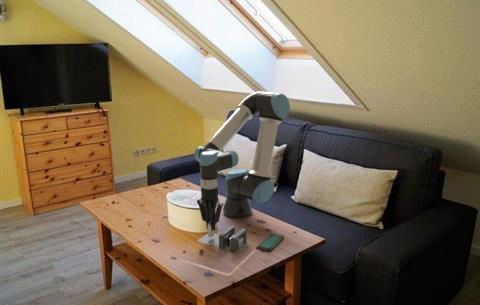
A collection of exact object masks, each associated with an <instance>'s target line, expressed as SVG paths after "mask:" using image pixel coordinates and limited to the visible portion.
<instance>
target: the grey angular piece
mask: <svg viewBox="0 0 480 305" xmlns="http://www.w3.org/2000/svg"><path fill="white" fill-rule="evenodd" d="M229 233H230V234H233V235H234V236H232V237H231V247H229V246H225V236H226V235H228V234H229ZM247 233H248V232H247V229H246V228H241V229H240V230H239V231H237V232H236V226H234V225H230V226H229V227H227V228H226V229H224V230H223V231H222V232H220V233H219V234H217V233H214V236H212V237H208V233H206V234H205V235H203V236H202V237H200V238H199V239H197V241H196V243H197V242H198V243H201V244H205V245H208V246H212V247H215V248H219V249H223V250H226V251H228V252H229V251H230V252H234V253H236V254H237V253H238V254H240V253H242V252H243V251H244V250H245V249H246V248H247V247H248V246H249V245H251V242H248V240H247V239H248V238H247ZM240 237H243V246H242V247H241V248H239V249H237V239H239V238H240Z"/></svg>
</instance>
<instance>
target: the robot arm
mask: <svg viewBox="0 0 480 305" xmlns="http://www.w3.org/2000/svg"><path fill="white" fill-rule="evenodd" d="M236 106H237V107H236V110H235V111H234V112H233V114H231V115H230V117H229V118H228V119H227V120H226V121H225V122H224V124H222V126H221V127H220V128H219V129H218V130H217V132H215V134H213V136H212V137H210V139H209V141H207V143H206V144H205V145H201V146H197V147H196V148H195V150H194V154H193V155H194V159H195V160H196V161H197V162H198V163H199V172H200V174H199V175H200V196H201V197H200V198H198V199H197V200H196V203H197V205H198V208H199V211H200V212H199V213H200V216H201V220H202V221H203V222H205V223H206V224H205V225H206V229H207V234H208V237H212V236H214V234H215V230H216V224H217V223H218V222H220V218H221V213H222V212H223V215H224V216H226V217H229V218H232V219H241V218H246V217H248V216H251V215H252V212H253V209H252V205H251V201H254V203H255V202H256V203H257V202H258V203H261V204H262V203H265V202H267V201H269V199H271V197H272V196H273V194H274V192H275V186H274V185H275V184H274V182H273V181H272V174H270V169H271V165H272V164H271V163H272V160H273V153H274V148H275V143H276V138H277V132H278V127H279V125H280V124H281V123H282V122H283V119H284V118H286V117H288V115H289V113H290V108H291V105H290V101H289V98H288V97H287V95H286V94H284V93H281V92H276V91H275V92H272V91H271V92H270V91H262V90H261V91H260V90H259V91H255V92H252V93H251V94H249V95H247V96H246V97H245V98H244V99H243V100H242V101H241V102H240V103H239V104H238V105H236ZM257 115H258V119H259V120H260V126H259V131H258V136H257V141H256V147H255V151H254V152H255V153H254V157H253V161H252V162H253V163H252V168H251V169H250V170H248V169H246V168H238V169H232V168H234V167H236V166H238V164H239V155H238V153H237V152H236V151H234V150H227V151H223V149H225V147H226V146H227V145H228V144H229V143H230V141H231V140H233V138H234V137H235V136H236V134H237V133H238V132H239V131H240V130H241V129H242V128H243V126H244V125H245V124H246V123H247V121H249V120H251V119H253V118H254V117H255V116H257ZM228 169H231V170H229V171H227V172H226V174H225V200H224V203H223V202H221V201H219V200H220V198H219V178H218V176H219V172H222V171H224V170H228ZM250 200H251V201H250Z"/></svg>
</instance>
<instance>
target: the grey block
mask: <svg viewBox="0 0 480 305" xmlns="http://www.w3.org/2000/svg"><path fill="white" fill-rule="evenodd" d="M232 236H234V235H233V234H230V233H229V234H228V235H226V236H225V246H229V247H231V237H232ZM242 246H243V237H240V238H239V239H237V249H239V248H241V247H242Z"/></svg>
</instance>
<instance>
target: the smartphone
mask: <svg viewBox="0 0 480 305" xmlns="http://www.w3.org/2000/svg"><path fill="white" fill-rule="evenodd" d="M284 238H285V237H284V235H280V234H276V233H270V234H269V235H268V236H267V237H266V238H265V239H264V240H263V241H261V242H260V244H258V245H257V247H255V249H256V250H260V251H263V252H266V253H271V252H272V251H273V250H274V249H275V248H276V247H277V246H278V245H279V244H280V243H282V241H283V240H284Z"/></svg>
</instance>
